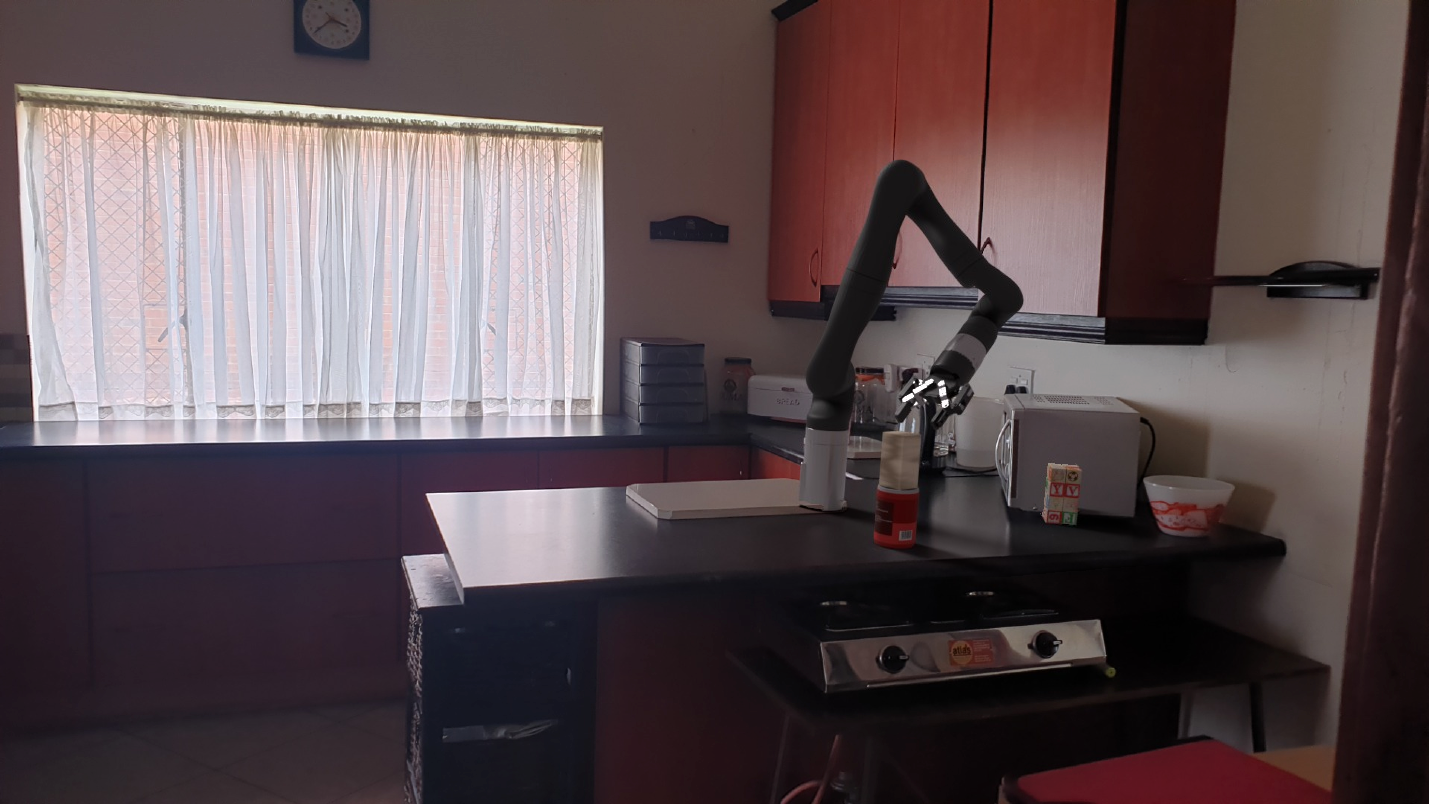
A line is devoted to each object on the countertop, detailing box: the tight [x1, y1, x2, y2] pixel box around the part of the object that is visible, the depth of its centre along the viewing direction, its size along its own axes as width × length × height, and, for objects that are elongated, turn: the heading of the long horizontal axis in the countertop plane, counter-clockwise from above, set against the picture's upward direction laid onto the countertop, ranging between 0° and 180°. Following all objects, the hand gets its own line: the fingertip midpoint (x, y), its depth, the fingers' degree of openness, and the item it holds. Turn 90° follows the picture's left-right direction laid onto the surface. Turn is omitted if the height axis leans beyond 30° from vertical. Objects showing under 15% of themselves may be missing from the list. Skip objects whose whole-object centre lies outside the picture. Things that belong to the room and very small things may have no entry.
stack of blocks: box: [1041, 463, 1083, 526], centre depth 221 cm, size 21×6×12 cm, turn 170°
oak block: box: [878, 430, 922, 490], centre depth 185 cm, size 5×5×10 cm
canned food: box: [873, 483, 920, 550], centre depth 186 cm, size 8×8×11 cm
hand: (915, 423), depth 186 cm, fingers open, 8 cm apart
